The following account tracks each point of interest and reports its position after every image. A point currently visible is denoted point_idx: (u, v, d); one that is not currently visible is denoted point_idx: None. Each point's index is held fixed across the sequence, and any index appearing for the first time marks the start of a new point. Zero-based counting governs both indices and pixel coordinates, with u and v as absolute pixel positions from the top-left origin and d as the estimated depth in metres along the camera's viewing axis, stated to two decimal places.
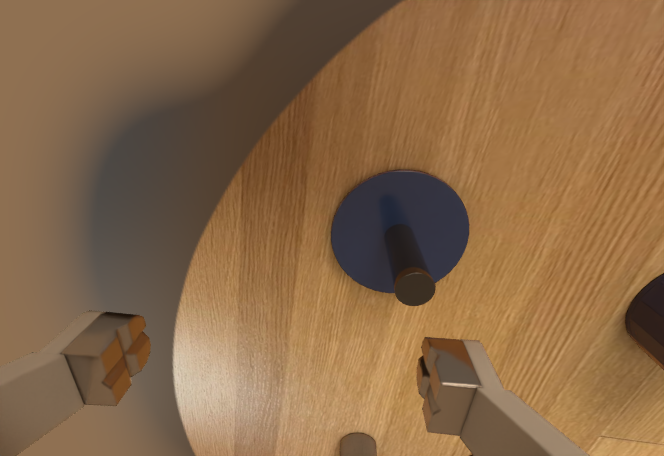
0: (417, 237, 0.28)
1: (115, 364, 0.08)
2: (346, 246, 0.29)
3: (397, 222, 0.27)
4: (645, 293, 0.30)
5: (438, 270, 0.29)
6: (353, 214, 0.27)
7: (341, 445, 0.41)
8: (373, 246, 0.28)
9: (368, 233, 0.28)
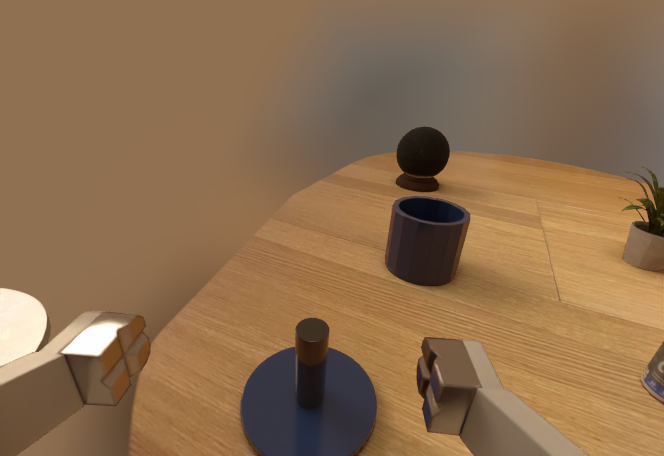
0: None
1: (115, 364, 0.08)
2: (300, 449, 0.24)
3: (293, 392, 0.29)
4: (403, 277, 0.47)
5: (355, 372, 0.31)
6: (266, 429, 0.26)
7: None
8: (310, 421, 0.26)
9: (293, 421, 0.26)
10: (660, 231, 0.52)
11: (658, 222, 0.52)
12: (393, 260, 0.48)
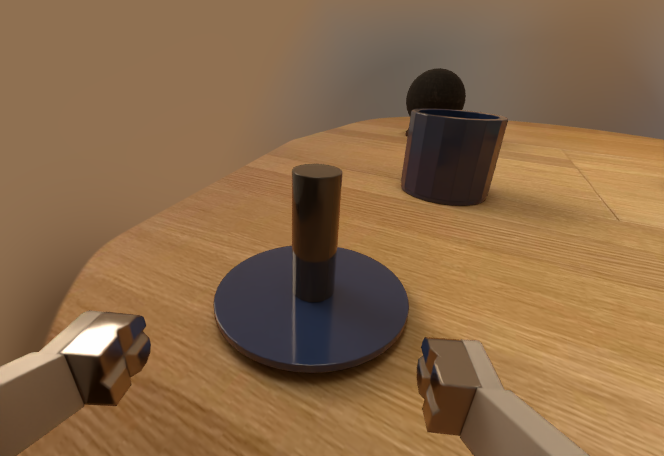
0: None
1: (115, 364, 0.08)
2: (300, 343, 0.16)
3: (290, 286, 0.20)
4: (425, 196, 0.39)
5: (375, 269, 0.23)
6: (250, 321, 0.17)
7: None
8: (314, 314, 0.18)
9: (290, 314, 0.18)
10: None
11: None
12: (412, 178, 0.40)
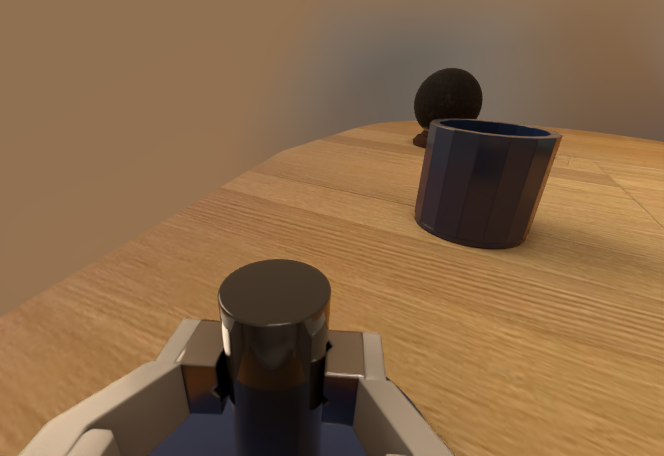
0: None
1: (222, 373, 0.08)
2: None
3: None
4: (448, 235, 0.29)
5: None
6: None
7: None
8: None
9: None
10: None
11: None
12: (431, 210, 0.30)
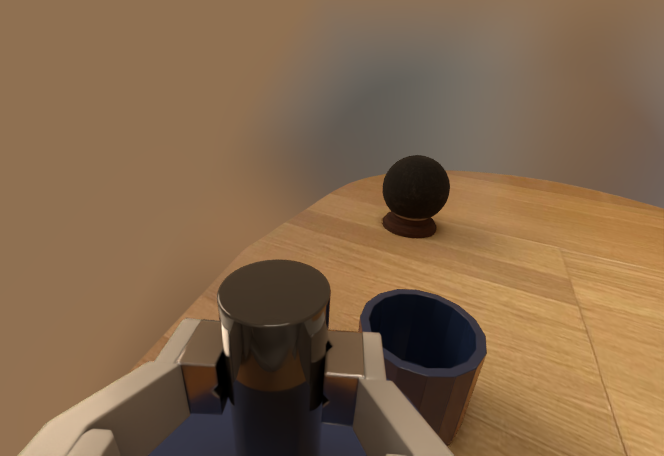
0: None
1: (222, 373, 0.08)
2: None
3: None
4: None
5: None
6: None
7: None
8: None
9: None
10: None
11: None
12: None
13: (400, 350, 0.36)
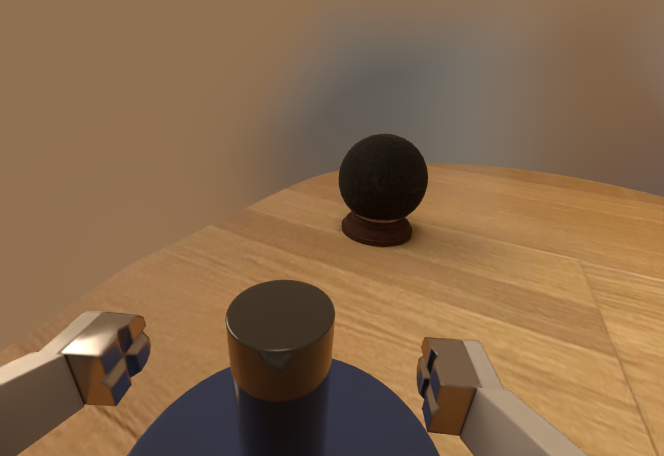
0: None
1: (115, 364, 0.08)
2: None
3: None
4: None
5: (394, 417, 0.14)
6: None
7: None
8: None
9: None
10: None
11: None
12: None
13: None
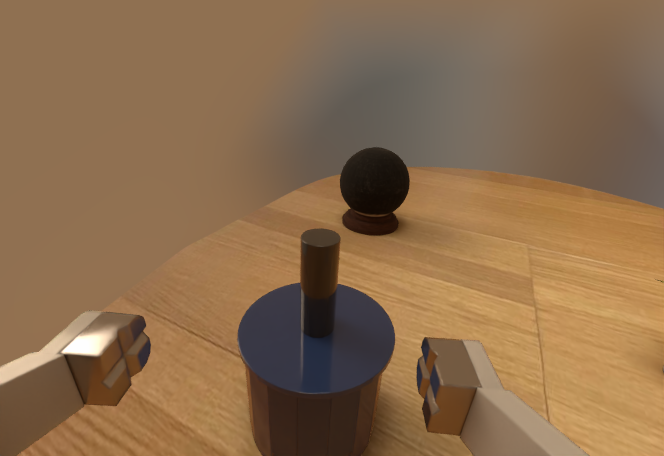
0: None
1: (115, 364, 0.08)
2: (307, 375, 0.21)
3: (298, 322, 0.25)
4: None
5: (369, 305, 0.27)
6: (267, 356, 0.22)
7: None
8: (318, 349, 0.23)
9: (299, 349, 0.23)
10: None
11: None
12: (252, 420, 0.26)
13: None
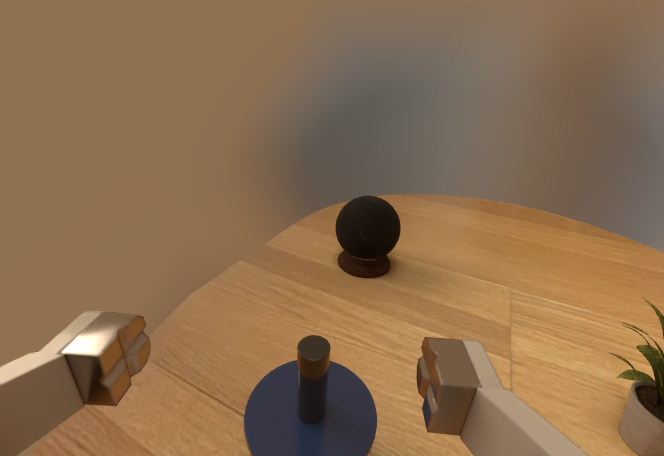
0: None
1: (115, 364, 0.08)
2: None
3: (295, 407, 0.29)
4: None
5: (356, 386, 0.32)
6: (269, 444, 0.26)
7: None
8: (312, 436, 0.27)
9: (295, 436, 0.27)
10: None
11: None
12: None
13: None
